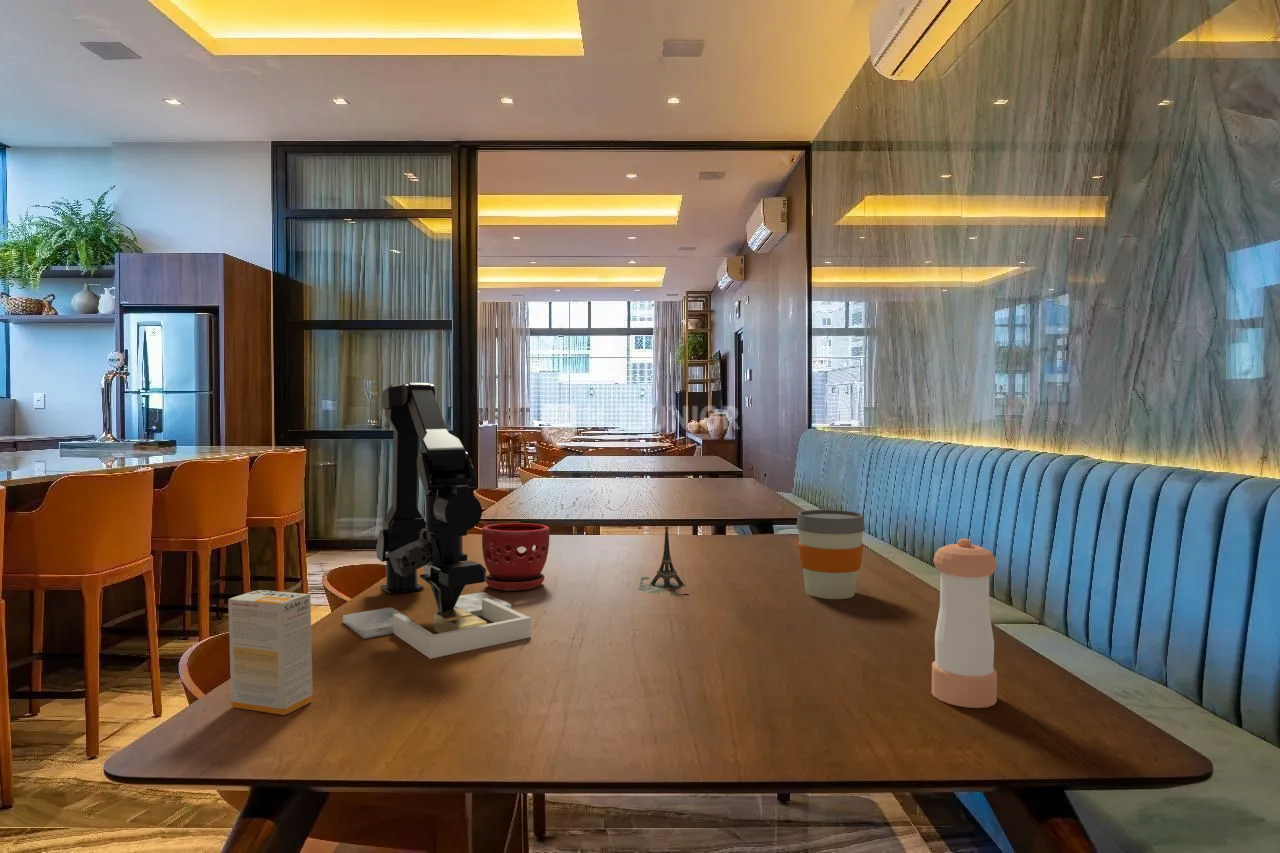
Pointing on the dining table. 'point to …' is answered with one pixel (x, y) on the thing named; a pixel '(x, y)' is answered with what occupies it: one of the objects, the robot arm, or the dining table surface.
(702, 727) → the dining table surface
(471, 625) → the beige wooden block
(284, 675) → the supplement box
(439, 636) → the tray
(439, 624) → the tan block
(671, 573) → the eiffel tower figurine
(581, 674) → the dining table surface
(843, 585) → the reusable coffee cup
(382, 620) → the plate
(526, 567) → the plant pot
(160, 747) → the dining table surface
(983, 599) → the salt shaker
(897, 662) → the dining table surface
